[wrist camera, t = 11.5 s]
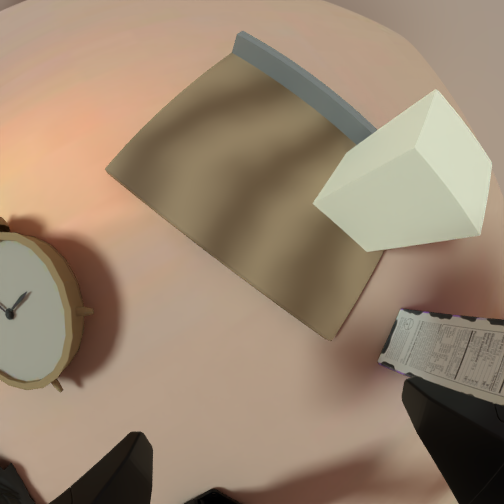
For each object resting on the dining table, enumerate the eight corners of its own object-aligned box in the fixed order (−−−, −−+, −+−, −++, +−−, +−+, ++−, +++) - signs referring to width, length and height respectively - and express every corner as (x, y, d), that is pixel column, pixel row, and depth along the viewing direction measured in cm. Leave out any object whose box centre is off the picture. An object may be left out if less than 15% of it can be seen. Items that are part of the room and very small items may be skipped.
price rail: (405, 193, 24) (429, 184, 21) (402, 200, 24) (426, 191, 21) (236, 54, 21) (243, 30, 18) (230, 59, 21) (237, 34, 18)
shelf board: (402, 200, 24) (408, 197, 23) (325, 338, 21) (331, 341, 20) (230, 59, 21) (231, 52, 20) (108, 173, 18) (104, 169, 17)
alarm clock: (52, 419, 13) (-79, 308, 8) (65, 390, 18) (-52, 299, 13) (103, 290, 15) (-42, 179, 10) (111, 281, 20) (-14, 190, 15)
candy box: (462, 345, 25) (571, 362, 9) (444, 390, 24) (551, 423, 8) (399, 305, 23) (562, 318, 7) (374, 364, 22) (531, 421, 6)
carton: (366, 252, 21) (480, 235, 11) (312, 203, 21) (414, 147, 10) (394, 196, 23) (492, 160, 12) (347, 150, 22) (436, 86, 11)
